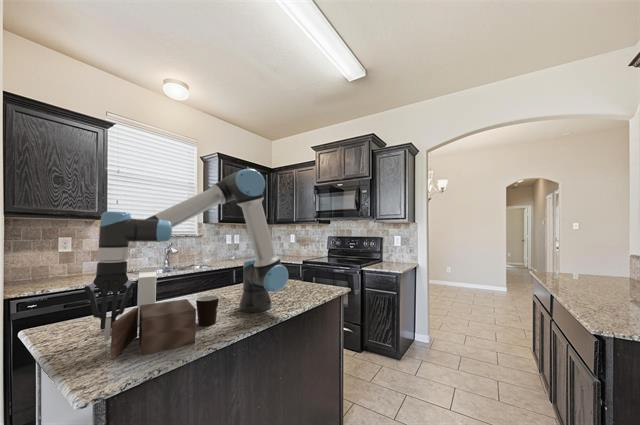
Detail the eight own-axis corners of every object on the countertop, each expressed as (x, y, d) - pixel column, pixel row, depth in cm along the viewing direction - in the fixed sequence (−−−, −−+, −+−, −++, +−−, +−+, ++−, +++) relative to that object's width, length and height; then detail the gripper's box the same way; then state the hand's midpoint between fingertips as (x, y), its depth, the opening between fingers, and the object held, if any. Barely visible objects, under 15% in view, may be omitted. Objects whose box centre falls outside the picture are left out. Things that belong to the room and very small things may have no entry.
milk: (137, 322, 110) (139, 267, 112) (155, 319, 113) (156, 266, 115) (136, 326, 105) (138, 269, 107) (154, 324, 108) (156, 268, 110)
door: (138, 336, 95) (139, 307, 95) (115, 358, 79) (116, 322, 79) (130, 336, 94) (131, 307, 95) (105, 359, 78) (107, 323, 79)
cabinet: (185, 328, 103) (186, 298, 104) (195, 343, 89) (196, 309, 90) (138, 337, 95) (139, 305, 95) (140, 355, 81) (142, 318, 81)
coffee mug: (210, 328, 104) (210, 301, 104) (190, 326, 105) (191, 300, 106) (226, 318, 115) (227, 294, 116) (208, 317, 117) (209, 293, 117)
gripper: (137, 259, 91) (132, 331, 89) (87, 261, 84) (80, 340, 82) (138, 261, 85) (132, 338, 83) (84, 263, 78) (77, 348, 76)
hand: (107, 339), depth 82 cm, fingers closed
